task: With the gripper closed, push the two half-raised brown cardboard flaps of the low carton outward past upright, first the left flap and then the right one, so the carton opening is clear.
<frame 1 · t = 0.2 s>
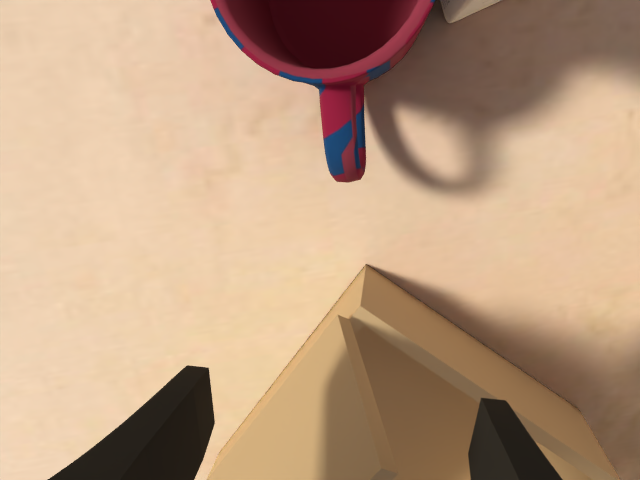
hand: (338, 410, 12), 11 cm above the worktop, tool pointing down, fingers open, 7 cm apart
mug: (343, 43, 19), on the worktop, touching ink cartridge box
carton: (383, 433, 25), on the worktop
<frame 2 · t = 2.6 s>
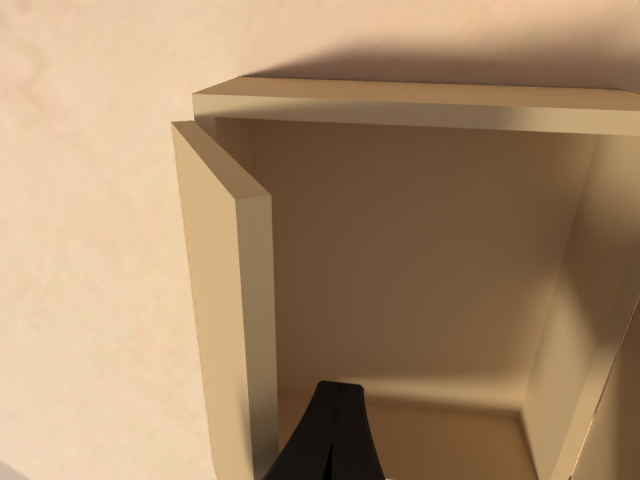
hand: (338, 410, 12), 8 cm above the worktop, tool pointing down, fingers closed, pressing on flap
carton: (401, 271, 19), on the worktop
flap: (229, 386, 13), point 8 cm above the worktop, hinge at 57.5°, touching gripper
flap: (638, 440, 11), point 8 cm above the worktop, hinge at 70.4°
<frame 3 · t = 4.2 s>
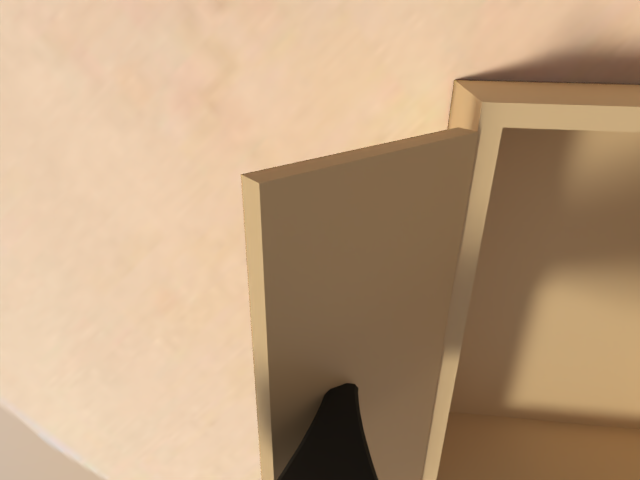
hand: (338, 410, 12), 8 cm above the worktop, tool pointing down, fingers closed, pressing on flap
carton: (595, 284, 18), on the worktop
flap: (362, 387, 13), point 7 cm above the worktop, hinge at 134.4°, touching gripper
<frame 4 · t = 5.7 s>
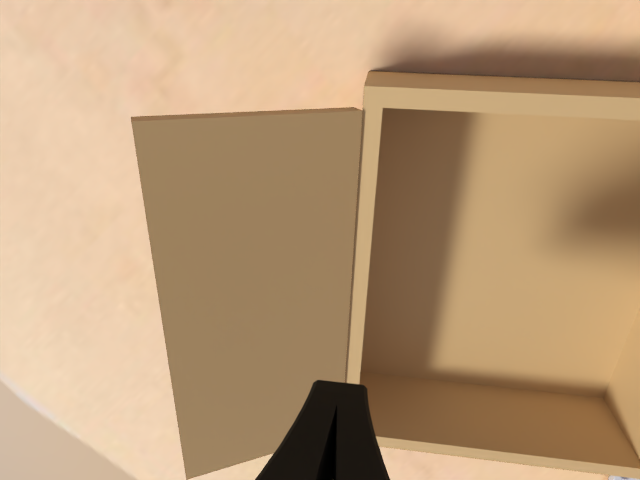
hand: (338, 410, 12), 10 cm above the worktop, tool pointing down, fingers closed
carton: (503, 256, 20), on the worktop
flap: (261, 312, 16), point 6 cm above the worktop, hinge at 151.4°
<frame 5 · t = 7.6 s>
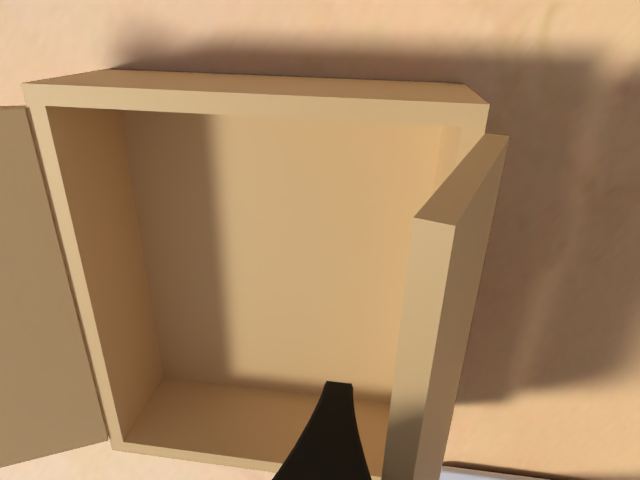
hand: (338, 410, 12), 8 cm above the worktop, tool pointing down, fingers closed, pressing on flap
carton: (280, 259, 20), on the worktop
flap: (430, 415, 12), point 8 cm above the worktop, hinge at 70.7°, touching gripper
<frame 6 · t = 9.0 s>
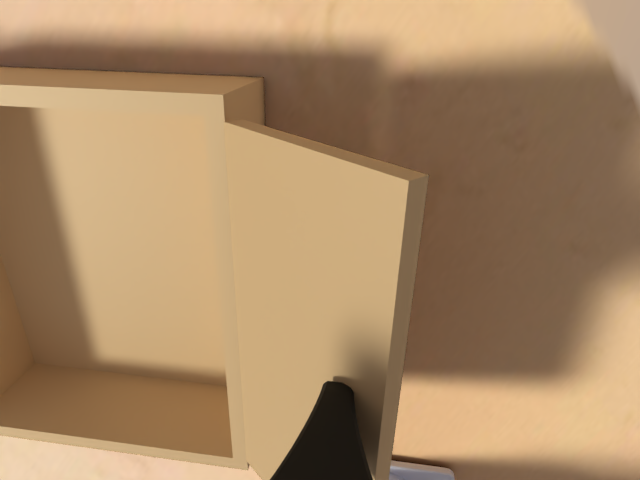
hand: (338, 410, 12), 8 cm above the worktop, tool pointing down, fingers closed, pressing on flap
carton: (127, 248, 20), on the worktop
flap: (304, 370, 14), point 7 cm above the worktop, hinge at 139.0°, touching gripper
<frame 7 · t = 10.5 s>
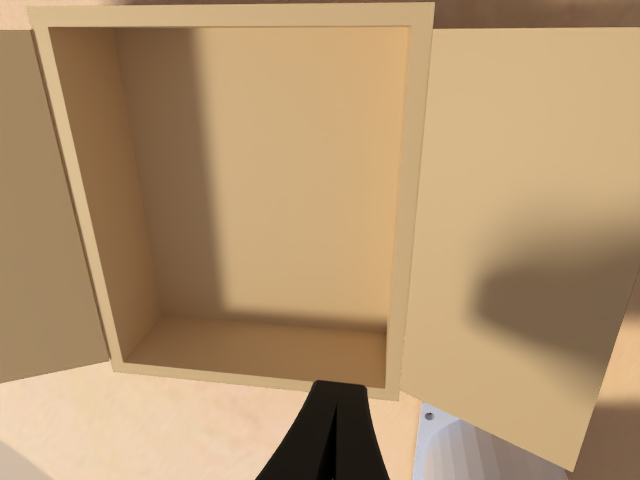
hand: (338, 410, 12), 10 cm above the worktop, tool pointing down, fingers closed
carton: (266, 192, 21), on the worktop
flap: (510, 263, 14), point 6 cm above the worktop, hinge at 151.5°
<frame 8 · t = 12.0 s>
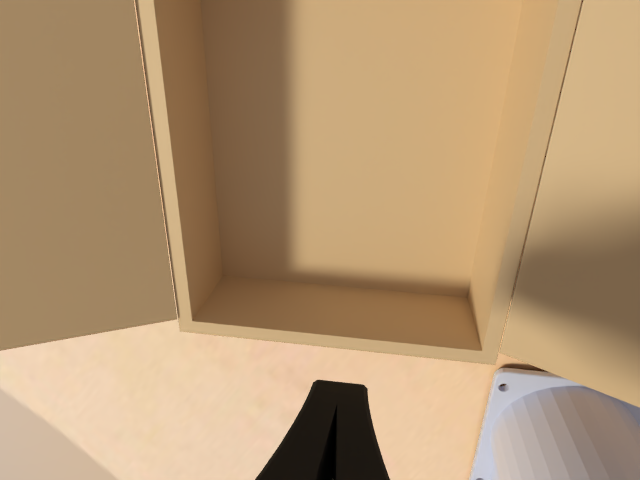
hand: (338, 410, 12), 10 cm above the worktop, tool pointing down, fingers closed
carton: (349, 140, 19), on the worktop
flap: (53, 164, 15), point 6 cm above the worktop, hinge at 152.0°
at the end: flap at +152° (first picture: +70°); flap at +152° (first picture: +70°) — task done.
